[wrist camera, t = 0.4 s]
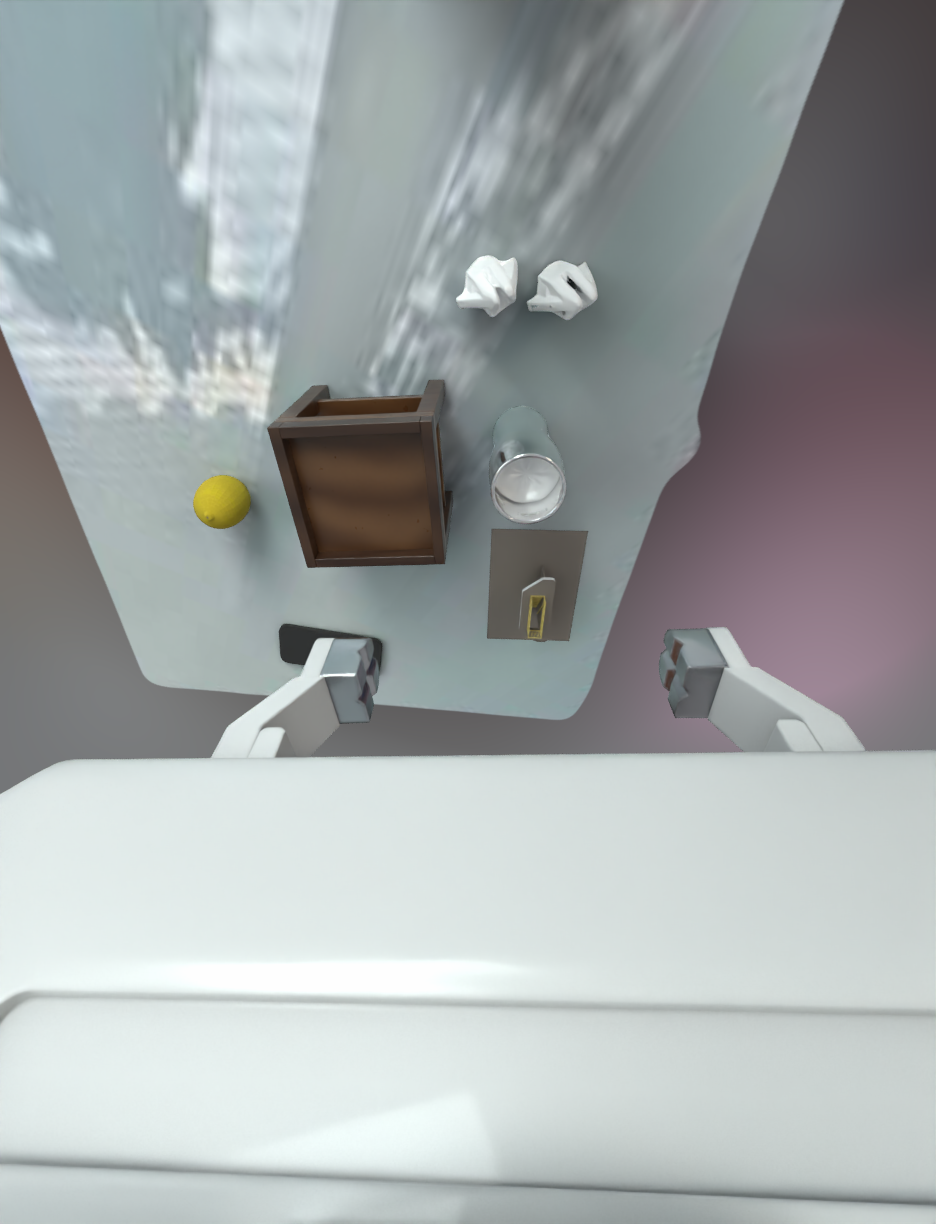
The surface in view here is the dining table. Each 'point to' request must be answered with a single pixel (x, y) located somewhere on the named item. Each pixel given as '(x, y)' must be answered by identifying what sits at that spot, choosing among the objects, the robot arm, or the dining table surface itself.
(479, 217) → the dining table surface
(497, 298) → the shaker set
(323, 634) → the phone
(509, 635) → the platform
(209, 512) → the lemon
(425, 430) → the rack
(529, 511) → the beer glass
